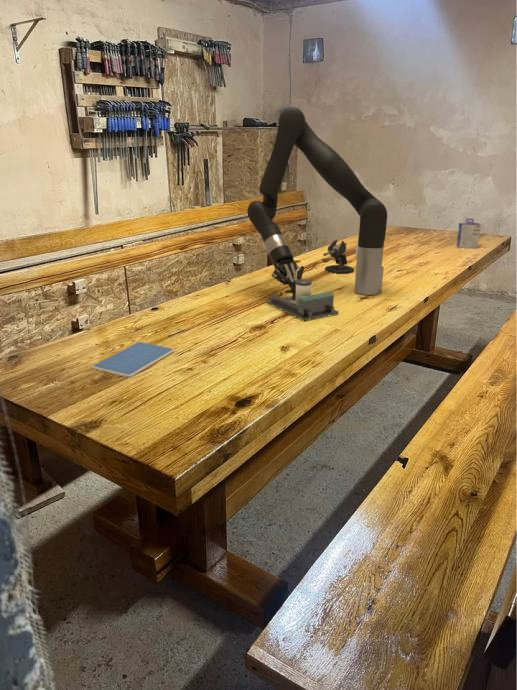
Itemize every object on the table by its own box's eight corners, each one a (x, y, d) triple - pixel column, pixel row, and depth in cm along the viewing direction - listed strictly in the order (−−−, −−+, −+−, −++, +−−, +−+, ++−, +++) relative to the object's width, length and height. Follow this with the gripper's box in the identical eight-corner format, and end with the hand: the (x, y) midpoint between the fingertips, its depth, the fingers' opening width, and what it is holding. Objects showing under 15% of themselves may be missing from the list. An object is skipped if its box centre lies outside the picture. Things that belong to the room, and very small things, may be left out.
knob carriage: (305, 301, 185) (306, 277, 182) (316, 306, 181) (317, 281, 178) (289, 304, 182) (289, 280, 179) (299, 309, 177) (300, 284, 174)
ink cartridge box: (474, 246, 284) (478, 218, 279) (478, 248, 279) (482, 219, 273) (455, 246, 284) (459, 218, 279) (459, 248, 279) (463, 219, 274)
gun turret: (312, 274, 226) (313, 243, 221) (333, 265, 241) (335, 236, 236) (339, 279, 219) (341, 247, 215) (359, 269, 235) (361, 239, 230)
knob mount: (299, 297, 194) (299, 279, 192) (338, 314, 177) (339, 294, 175) (266, 303, 188) (266, 285, 185) (303, 321, 170) (304, 301, 168)
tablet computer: (130, 380, 131) (129, 375, 130) (90, 370, 136) (89, 365, 136) (176, 353, 147) (175, 348, 146) (139, 345, 152) (138, 340, 152)
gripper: (266, 246, 181) (286, 290, 176) (298, 242, 188) (318, 284, 183) (258, 258, 187) (277, 301, 182) (289, 254, 194) (308, 295, 189)
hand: (297, 293), depth 183 cm, fingers closed
